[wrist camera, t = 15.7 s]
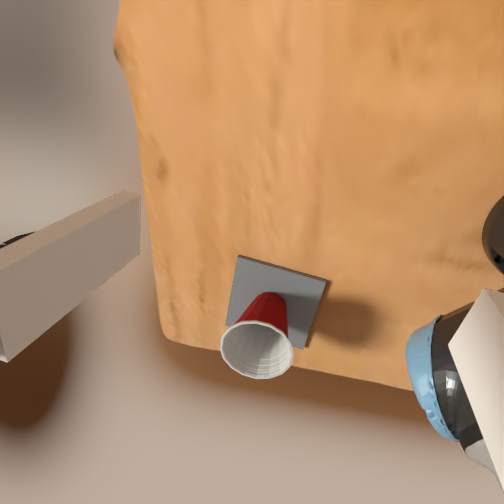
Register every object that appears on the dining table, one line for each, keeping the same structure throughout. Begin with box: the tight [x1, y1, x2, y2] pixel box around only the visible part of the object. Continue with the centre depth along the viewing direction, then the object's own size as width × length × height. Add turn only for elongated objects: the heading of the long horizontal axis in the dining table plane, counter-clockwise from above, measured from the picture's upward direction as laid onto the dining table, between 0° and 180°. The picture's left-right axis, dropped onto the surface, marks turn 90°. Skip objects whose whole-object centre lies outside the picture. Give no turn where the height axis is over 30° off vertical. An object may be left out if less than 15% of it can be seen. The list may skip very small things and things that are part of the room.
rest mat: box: [225, 255, 326, 350], centre depth 59 cm, size 15×15×1 cm
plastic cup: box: [220, 292, 294, 379], centre depth 53 cm, size 11×11×12 cm
